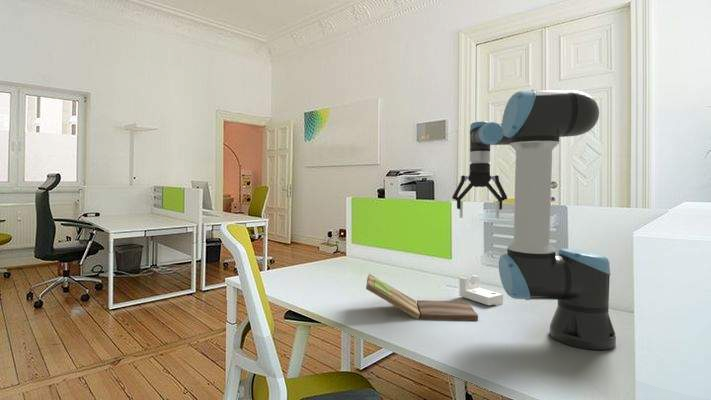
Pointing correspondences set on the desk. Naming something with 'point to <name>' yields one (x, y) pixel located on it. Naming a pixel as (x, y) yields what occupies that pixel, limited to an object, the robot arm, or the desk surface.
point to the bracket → (478, 292)
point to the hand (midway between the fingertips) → (479, 218)
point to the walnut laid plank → (446, 310)
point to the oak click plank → (392, 296)
